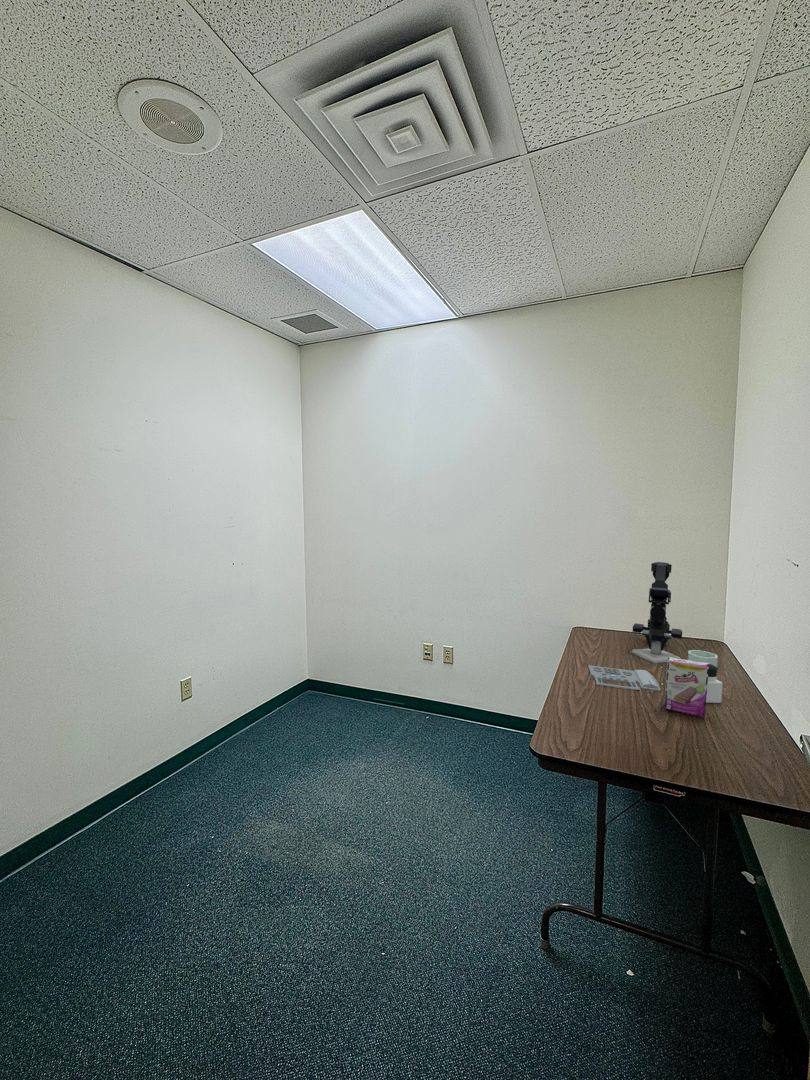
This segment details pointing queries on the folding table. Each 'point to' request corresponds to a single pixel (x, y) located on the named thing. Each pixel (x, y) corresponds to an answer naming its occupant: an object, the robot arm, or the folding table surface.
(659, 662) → the mat
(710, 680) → the medicine bottle
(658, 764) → the folding table surface
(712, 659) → the bowl
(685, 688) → the candy bar box
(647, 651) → the lid
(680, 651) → the folding table surface
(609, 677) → the office telephone
